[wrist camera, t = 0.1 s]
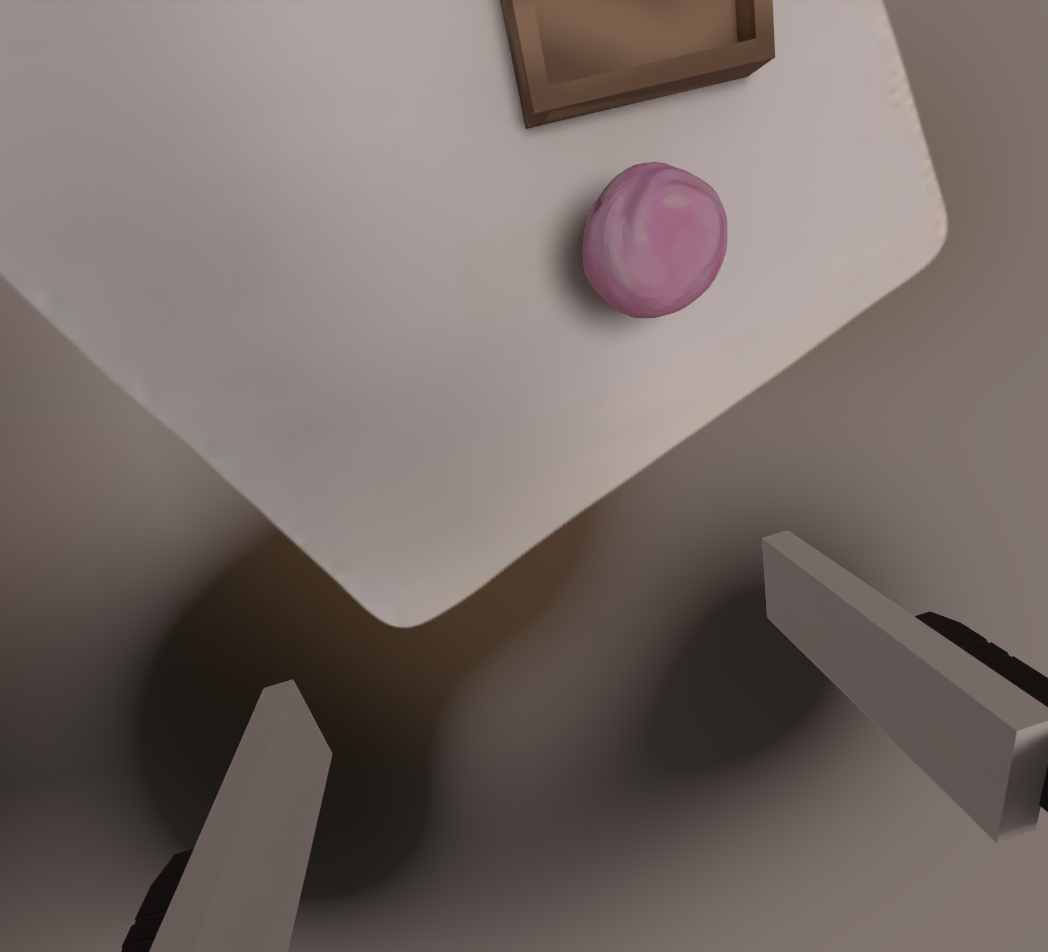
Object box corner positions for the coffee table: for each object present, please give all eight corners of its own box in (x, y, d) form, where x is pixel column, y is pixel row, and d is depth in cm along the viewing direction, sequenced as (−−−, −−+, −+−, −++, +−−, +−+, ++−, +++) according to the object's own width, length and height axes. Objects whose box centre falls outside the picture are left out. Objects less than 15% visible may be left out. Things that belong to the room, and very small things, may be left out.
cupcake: (694, 217, 38) (779, 191, 28) (646, 331, 40) (710, 342, 30) (587, 164, 35) (641, 117, 26) (542, 288, 37) (578, 286, 28)
